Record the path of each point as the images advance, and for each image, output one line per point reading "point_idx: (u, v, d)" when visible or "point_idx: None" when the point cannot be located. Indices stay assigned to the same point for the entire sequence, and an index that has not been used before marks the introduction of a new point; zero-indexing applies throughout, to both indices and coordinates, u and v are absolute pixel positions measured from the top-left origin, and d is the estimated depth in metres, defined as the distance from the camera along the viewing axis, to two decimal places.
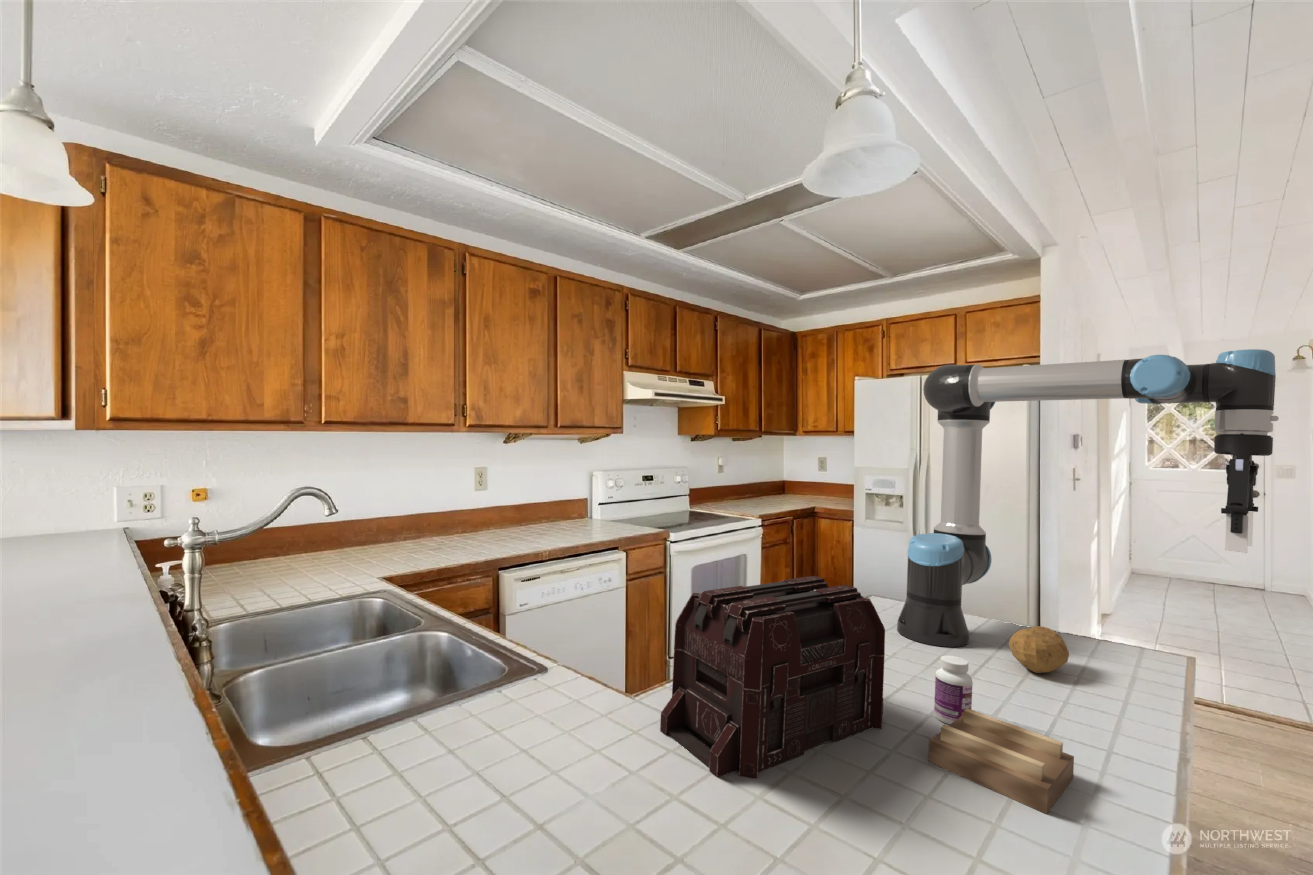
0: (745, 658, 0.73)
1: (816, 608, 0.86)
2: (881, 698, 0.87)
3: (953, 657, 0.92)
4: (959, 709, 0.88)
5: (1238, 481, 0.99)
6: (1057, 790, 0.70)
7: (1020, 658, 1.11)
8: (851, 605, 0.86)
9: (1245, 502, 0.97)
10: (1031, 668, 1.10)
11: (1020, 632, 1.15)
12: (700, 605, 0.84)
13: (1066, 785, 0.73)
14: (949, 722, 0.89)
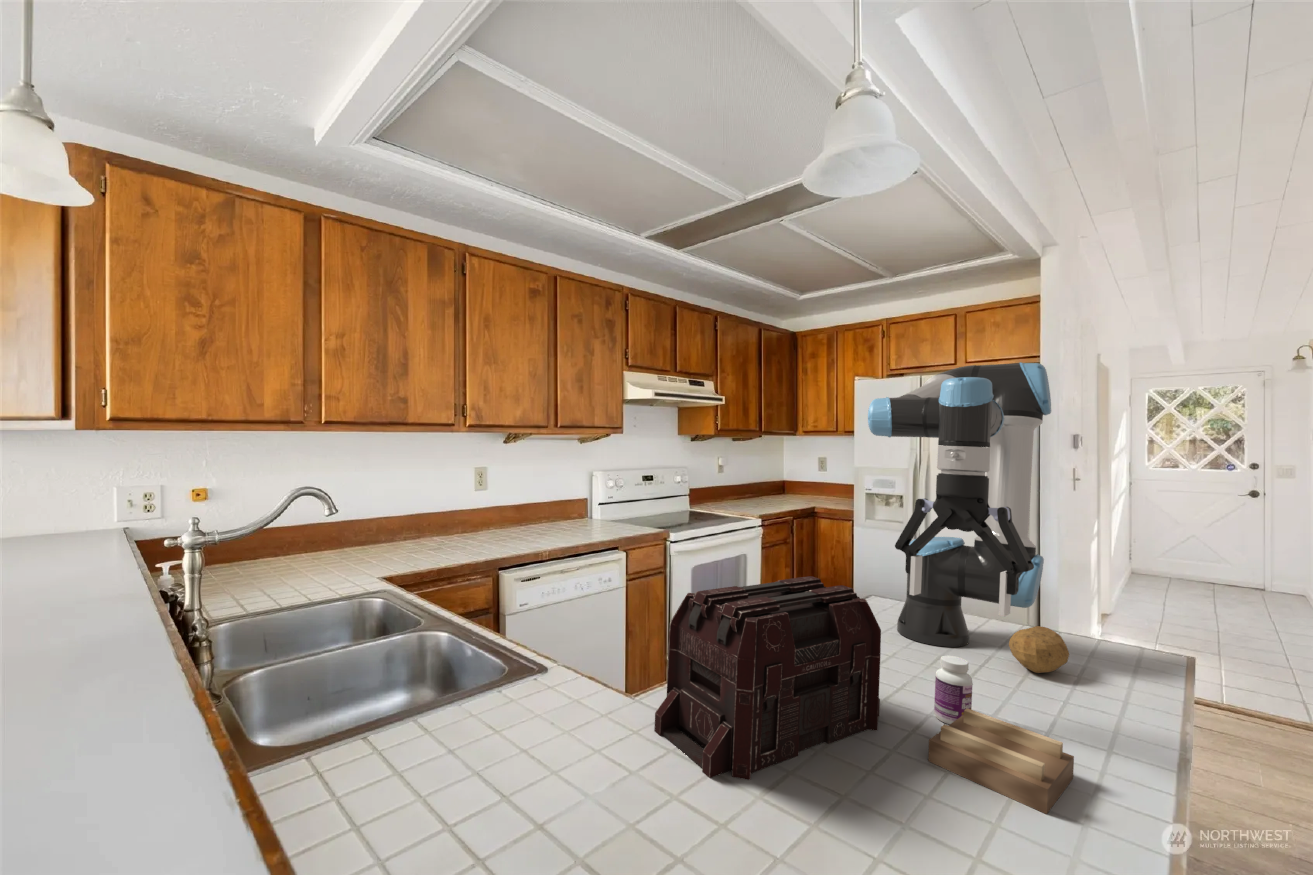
0: (738, 658, 0.73)
1: (811, 608, 0.86)
2: (877, 699, 0.86)
3: (953, 657, 0.92)
4: (959, 709, 0.88)
5: None
6: (1057, 790, 0.70)
7: (1020, 658, 1.11)
8: (846, 606, 0.86)
9: (898, 539, 0.98)
10: (1031, 668, 1.10)
11: (1020, 632, 1.15)
12: (694, 605, 0.84)
13: (1066, 785, 0.73)
14: (949, 722, 0.89)
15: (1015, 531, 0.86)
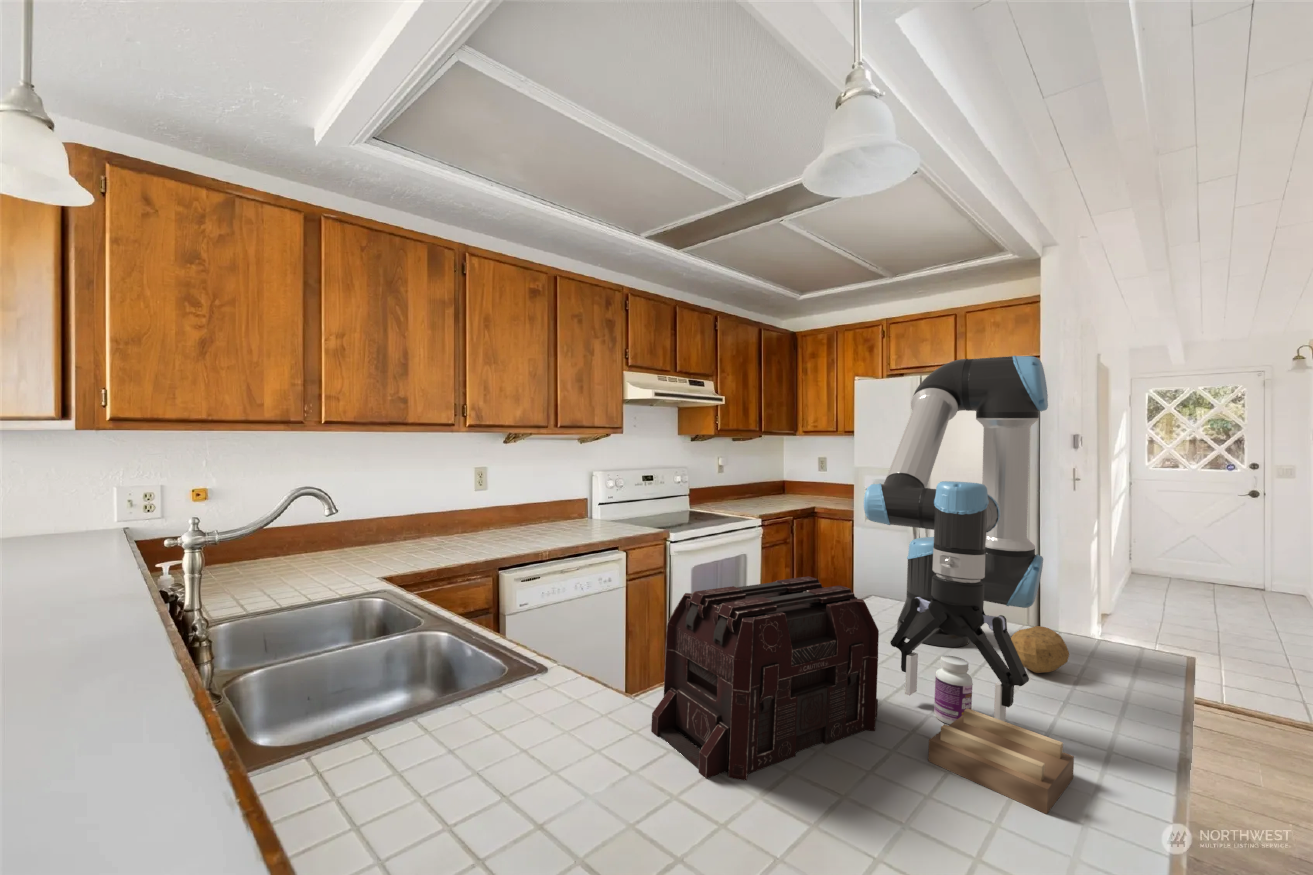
0: (734, 659, 0.73)
1: (809, 609, 0.86)
2: (875, 700, 0.86)
3: (953, 657, 0.92)
4: (959, 709, 0.88)
5: None
6: (1057, 790, 0.70)
7: (1020, 658, 1.11)
8: (844, 606, 0.85)
9: None
10: (1031, 668, 1.10)
11: (1020, 632, 1.15)
12: (691, 605, 0.84)
13: (1066, 785, 0.73)
14: (949, 722, 0.89)
15: (1010, 642, 0.86)
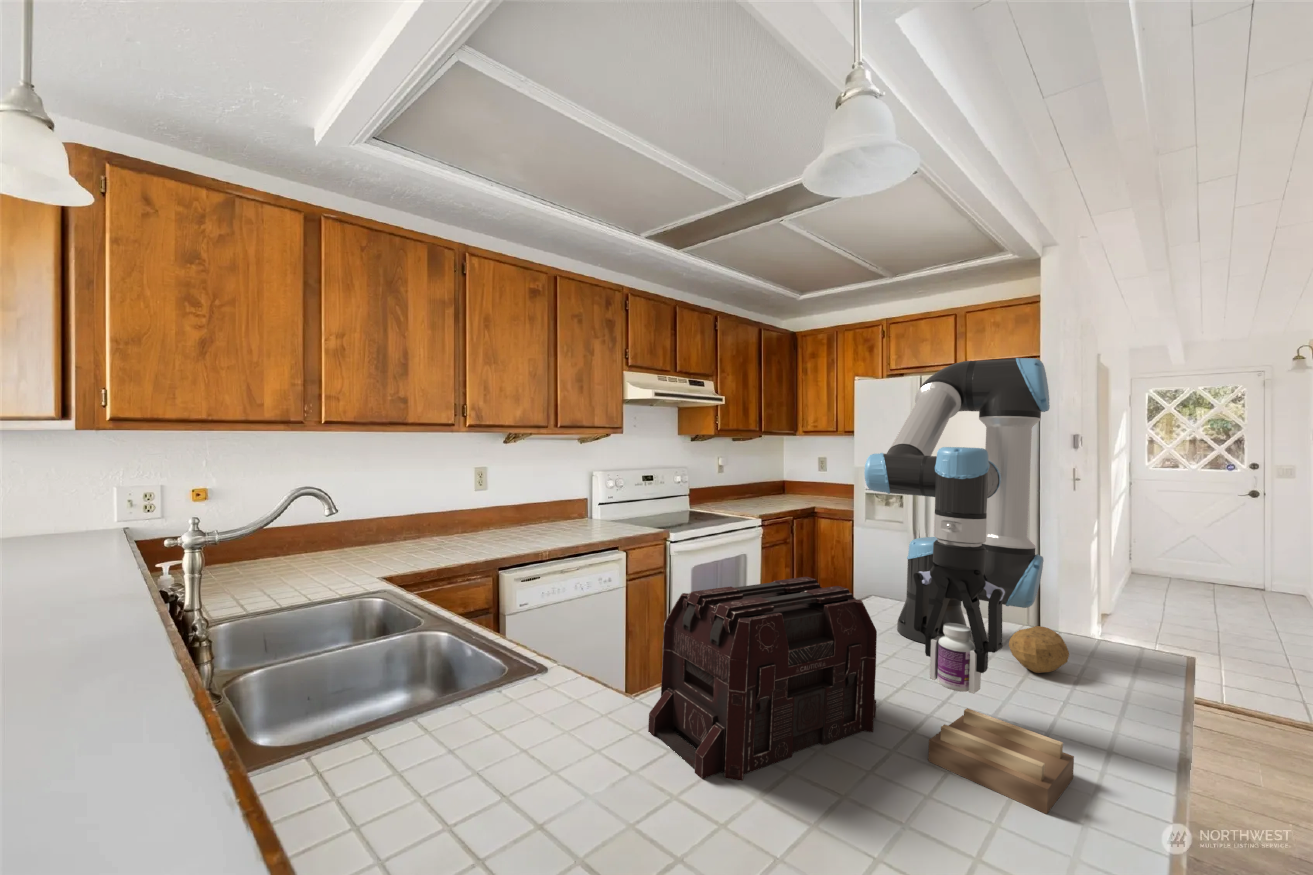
0: (730, 659, 0.72)
1: (806, 609, 0.85)
2: (873, 701, 0.86)
3: (956, 624, 0.93)
4: (962, 675, 0.89)
5: None
6: (1057, 790, 0.70)
7: (1020, 658, 1.11)
8: (842, 606, 0.85)
9: (914, 620, 0.95)
10: (1031, 668, 1.10)
11: (1020, 632, 1.15)
12: (688, 605, 0.83)
13: (1066, 785, 0.73)
14: (952, 688, 0.90)
15: (1000, 612, 0.87)
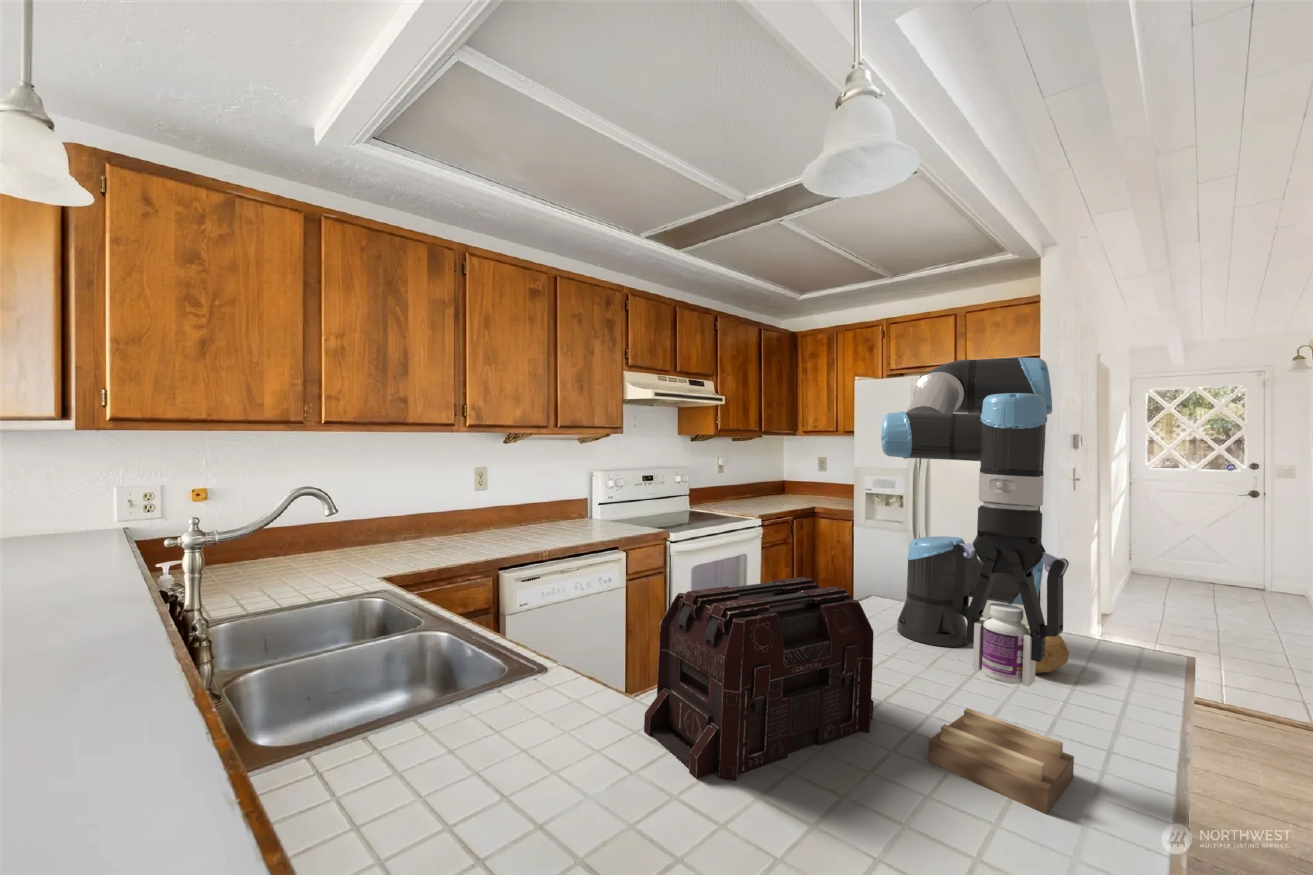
0: (725, 659, 0.72)
1: (803, 609, 0.85)
2: (869, 701, 0.85)
3: (1004, 604, 0.78)
4: (1014, 663, 0.74)
5: None
6: (1057, 790, 0.70)
7: None
8: (838, 607, 0.85)
9: (953, 601, 0.81)
10: None
11: None
12: (684, 605, 0.83)
13: (1066, 785, 0.73)
14: (1001, 679, 0.75)
15: (1061, 589, 0.73)
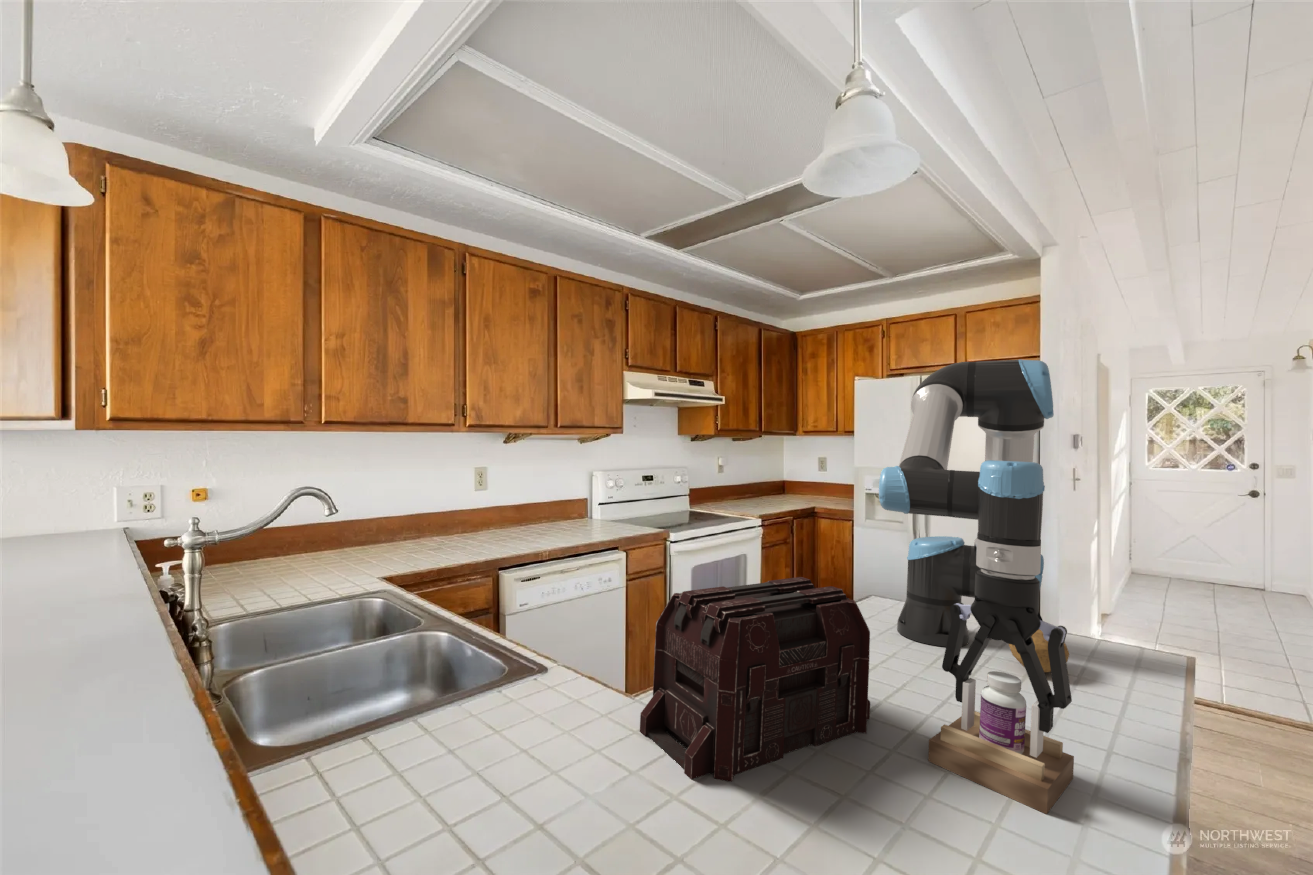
0: (720, 659, 0.72)
1: (799, 609, 0.85)
2: (866, 702, 0.85)
3: (1002, 673, 0.78)
4: (1011, 736, 0.74)
5: None
6: (1057, 790, 0.70)
7: (1020, 658, 1.11)
8: (834, 607, 0.85)
9: (943, 659, 0.82)
10: None
11: None
12: (680, 605, 0.83)
13: (1066, 785, 0.73)
14: None
15: (1064, 658, 0.72)
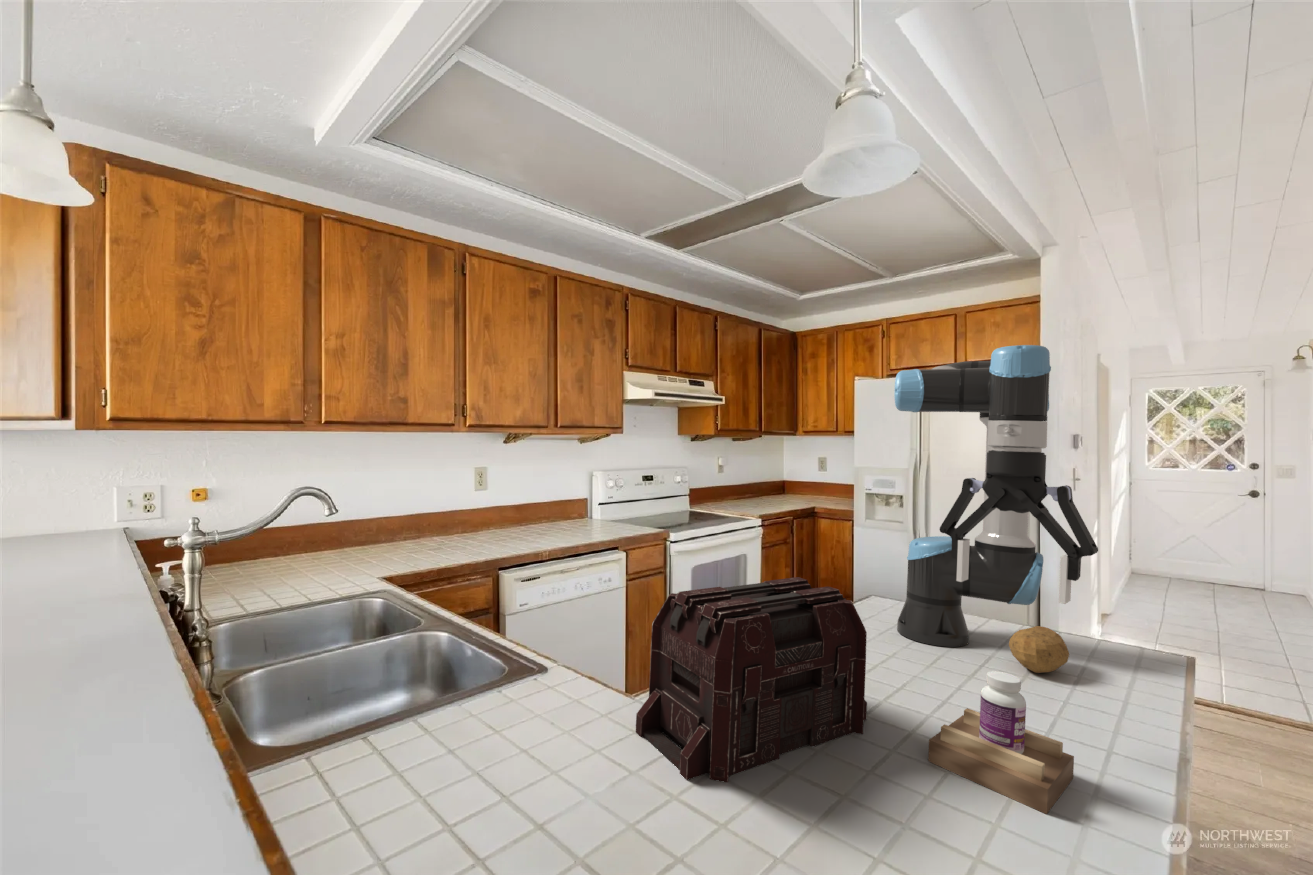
0: (715, 660, 0.72)
1: (795, 610, 0.85)
2: (862, 702, 0.85)
3: (1001, 673, 0.78)
4: (1011, 735, 0.74)
5: None
6: (1057, 790, 0.70)
7: (1020, 658, 1.11)
8: (831, 607, 0.84)
9: (943, 522, 0.91)
10: (1031, 668, 1.10)
11: (1020, 632, 1.15)
12: (676, 606, 0.83)
13: (1066, 785, 0.73)
14: None
15: (1077, 512, 0.79)
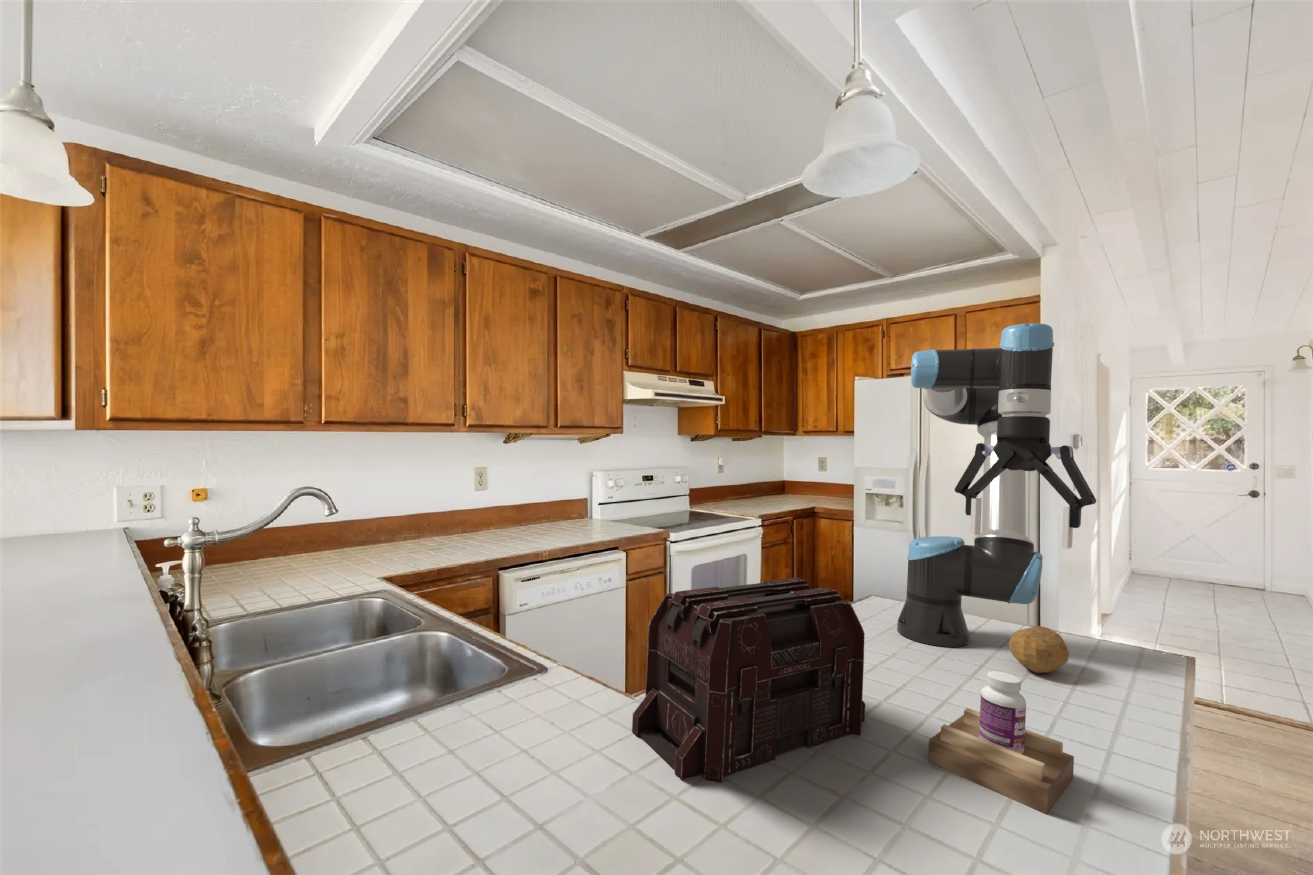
0: (710, 660, 0.72)
1: (792, 610, 0.84)
2: (860, 704, 0.85)
3: (1002, 673, 0.78)
4: (1011, 735, 0.74)
5: None
6: (1057, 790, 0.70)
7: (1020, 658, 1.11)
8: (828, 608, 0.84)
9: None
10: (1031, 668, 1.10)
11: (1020, 632, 1.15)
12: (673, 606, 0.83)
13: (1066, 785, 0.73)
14: None
15: (1077, 468, 0.90)
